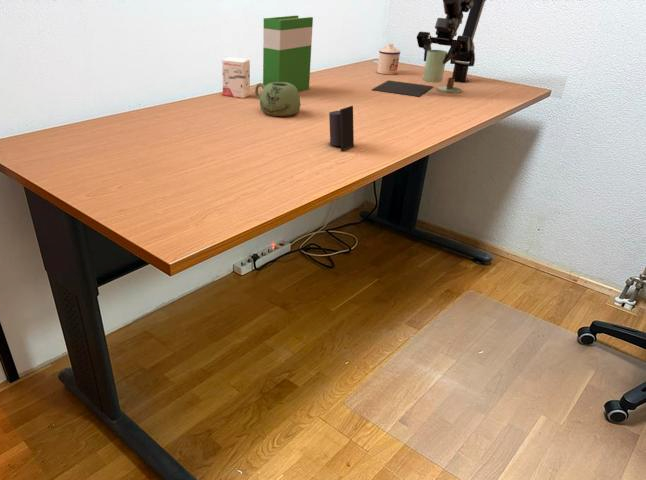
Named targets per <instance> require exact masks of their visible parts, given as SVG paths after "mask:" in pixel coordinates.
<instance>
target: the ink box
mask: <svg viewBox="0 0 646 480" xmlns="http://www.w3.org/2000/svg"><path fill="white" fill-rule="evenodd" d="M250 61H251V60H250V59H248V58H241V57H233V56H232V57H229V56H228V57H226V58H224V59H222V60H221V69H222V70H221V71H222V72H221V73H222V74H221V75H222V78H221V79H222V96H227V97H234V98H241V99H244V98H247V97H249V96H250V95H251V64H250V63H251V62H250Z"/></svg>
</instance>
